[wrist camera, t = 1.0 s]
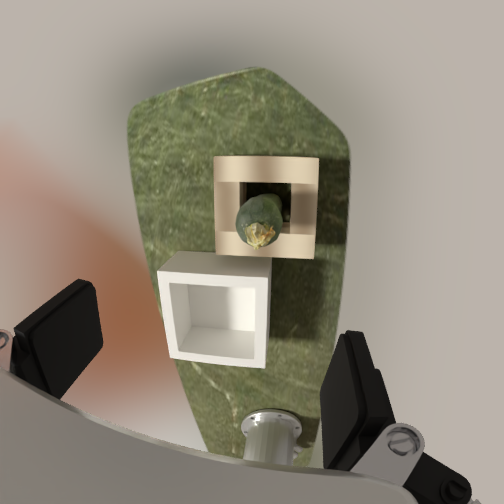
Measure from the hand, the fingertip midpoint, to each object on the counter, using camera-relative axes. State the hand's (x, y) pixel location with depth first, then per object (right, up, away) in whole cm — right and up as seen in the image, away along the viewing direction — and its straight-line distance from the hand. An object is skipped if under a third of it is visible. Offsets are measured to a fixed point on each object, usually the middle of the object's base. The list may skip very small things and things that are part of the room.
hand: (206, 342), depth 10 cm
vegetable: (+4, +10, +30) cm, 32 cm away
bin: (-3, -4, +36) cm, 36 cm away
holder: (+4, +10, +30) cm, 32 cm away
